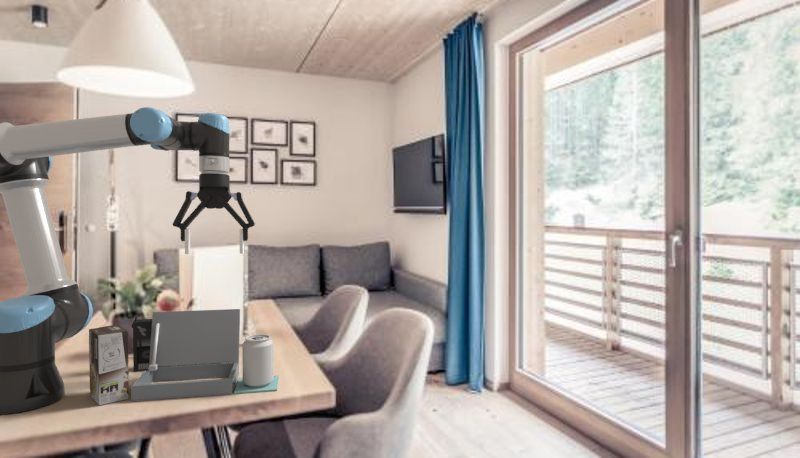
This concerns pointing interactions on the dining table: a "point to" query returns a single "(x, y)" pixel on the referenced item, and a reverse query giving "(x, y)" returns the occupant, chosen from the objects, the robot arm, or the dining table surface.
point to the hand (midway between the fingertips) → (215, 253)
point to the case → (191, 354)
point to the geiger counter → (141, 343)
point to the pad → (245, 389)
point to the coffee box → (108, 364)
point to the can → (257, 360)
